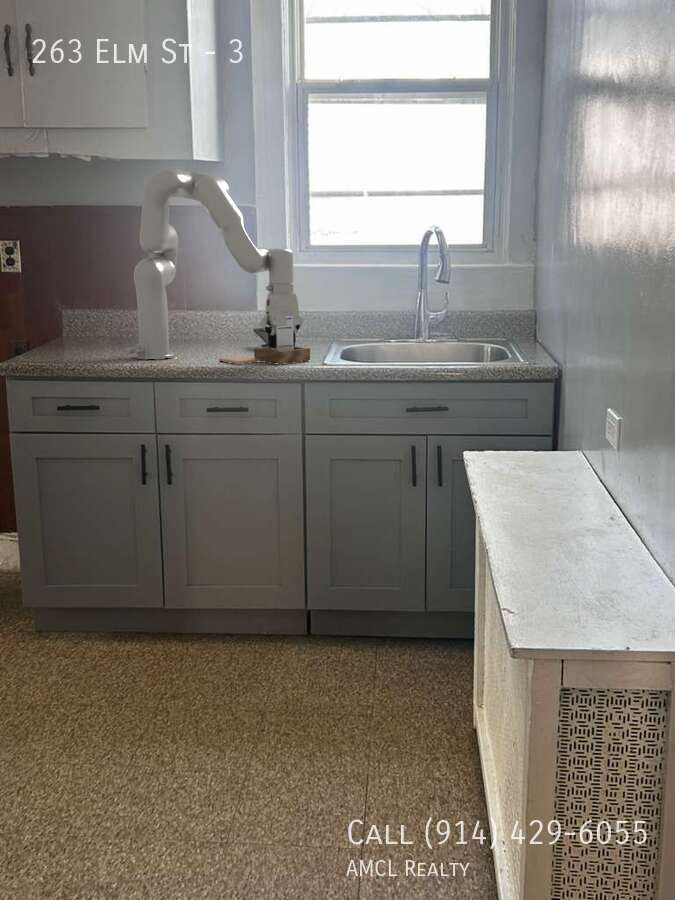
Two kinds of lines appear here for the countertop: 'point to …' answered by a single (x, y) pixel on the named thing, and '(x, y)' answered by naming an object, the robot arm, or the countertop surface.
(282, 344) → the syrup box
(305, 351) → the walnut caddy
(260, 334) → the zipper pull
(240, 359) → the terracotta tile
